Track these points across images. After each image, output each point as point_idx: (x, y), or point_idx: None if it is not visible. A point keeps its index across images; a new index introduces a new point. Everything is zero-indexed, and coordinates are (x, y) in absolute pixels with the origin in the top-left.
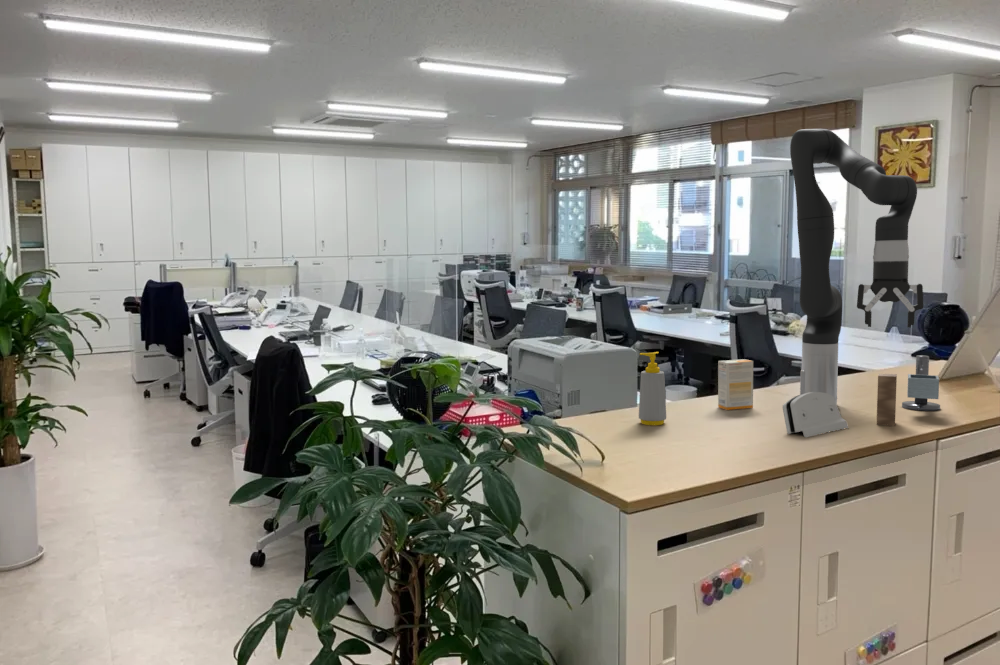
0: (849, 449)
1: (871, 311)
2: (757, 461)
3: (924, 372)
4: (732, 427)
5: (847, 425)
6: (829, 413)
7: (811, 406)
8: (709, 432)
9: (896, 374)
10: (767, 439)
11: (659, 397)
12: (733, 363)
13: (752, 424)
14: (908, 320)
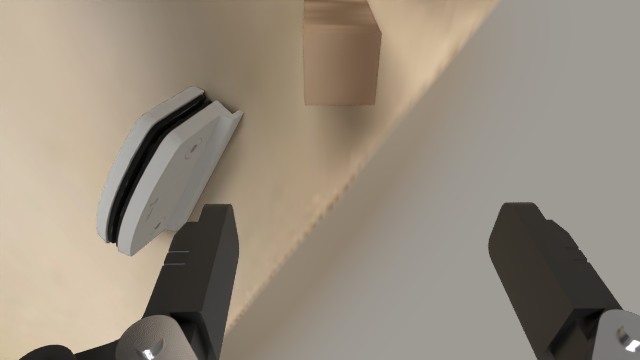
0: (275, 267)
1: (206, 328)
2: None
3: None
4: (17, 198)
5: (240, 115)
6: (194, 154)
7: (157, 211)
8: (14, 247)
9: (380, 37)
10: (133, 256)
11: None
12: None
13: (31, 157)
14: (511, 293)
